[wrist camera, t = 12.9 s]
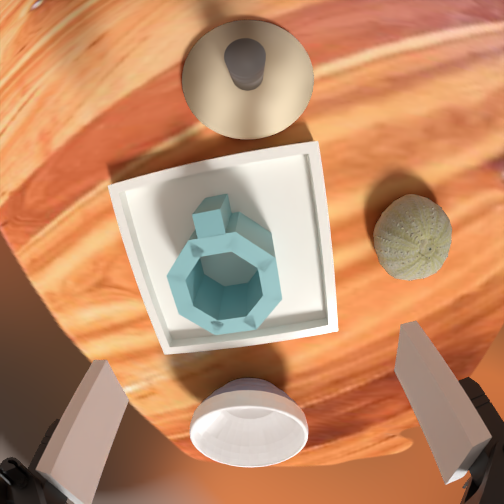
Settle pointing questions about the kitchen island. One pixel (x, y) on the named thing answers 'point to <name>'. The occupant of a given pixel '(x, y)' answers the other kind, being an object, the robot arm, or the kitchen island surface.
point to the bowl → (249, 424)
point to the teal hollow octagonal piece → (213, 293)
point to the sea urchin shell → (412, 238)
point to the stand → (247, 79)
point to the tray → (229, 264)
